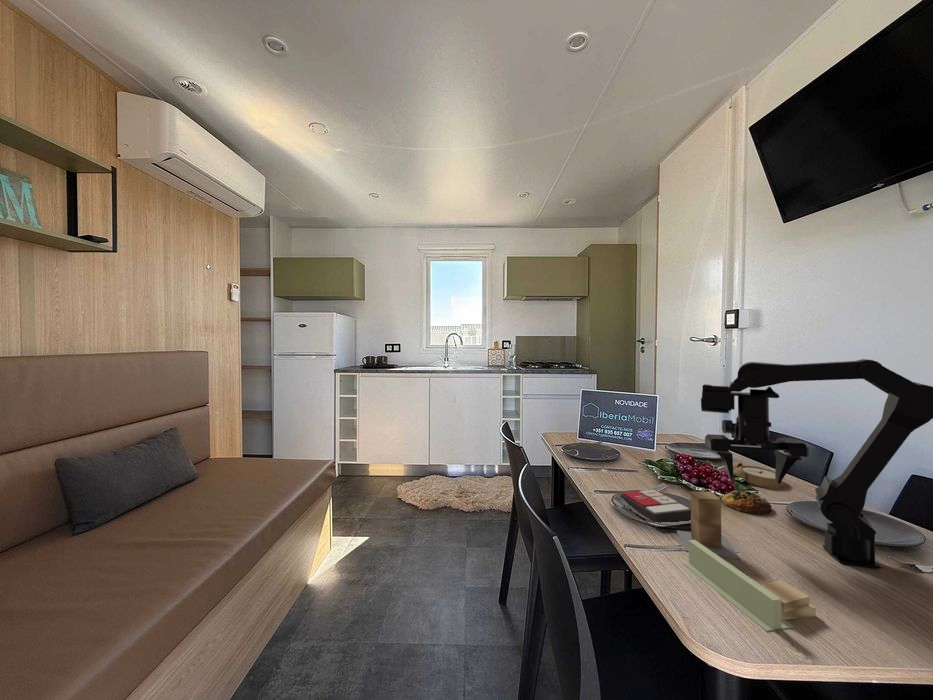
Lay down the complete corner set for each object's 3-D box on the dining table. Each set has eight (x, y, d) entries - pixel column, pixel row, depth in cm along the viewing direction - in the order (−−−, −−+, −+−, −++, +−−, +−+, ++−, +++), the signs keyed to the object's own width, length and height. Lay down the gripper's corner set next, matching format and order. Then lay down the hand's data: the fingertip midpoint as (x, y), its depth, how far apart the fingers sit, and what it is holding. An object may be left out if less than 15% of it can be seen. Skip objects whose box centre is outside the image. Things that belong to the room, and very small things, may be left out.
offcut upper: (779, 588, 65) (780, 580, 65) (808, 605, 61) (809, 596, 61) (755, 594, 64) (756, 585, 64) (784, 612, 59) (784, 603, 59)
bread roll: (776, 518, 94) (772, 498, 95) (724, 514, 100) (721, 496, 100) (768, 503, 104) (764, 485, 104) (721, 501, 109) (718, 484, 110)
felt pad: (725, 538, 85) (725, 536, 85) (739, 559, 77) (739, 558, 77) (676, 532, 89) (676, 530, 89) (685, 552, 80) (685, 550, 80)
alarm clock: (787, 482, 111) (727, 465, 119) (783, 497, 111) (724, 479, 119) (780, 471, 120) (726, 456, 128) (777, 485, 121) (723, 469, 129)
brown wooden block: (712, 539, 84) (711, 492, 84) (721, 548, 80) (720, 499, 80) (691, 537, 85) (690, 491, 85) (699, 547, 81) (698, 498, 81)
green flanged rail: (705, 562, 76) (704, 538, 76) (793, 628, 58) (793, 597, 58) (683, 564, 75) (683, 541, 75) (766, 632, 58) (766, 601, 58)
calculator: (653, 488, 107) (693, 507, 93) (654, 502, 107) (694, 524, 92) (619, 491, 106) (654, 511, 91) (620, 506, 105) (655, 529, 91)
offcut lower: (785, 596, 66) (785, 588, 66) (815, 616, 61) (815, 607, 61) (751, 599, 65) (751, 590, 65) (779, 620, 60) (779, 611, 60)
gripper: (784, 410, 90) (785, 473, 91) (698, 408, 97) (699, 466, 97) (810, 419, 80) (810, 490, 80) (711, 416, 86) (712, 481, 86)
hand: (754, 480), depth 86 cm, fingers open, 9 cm apart
